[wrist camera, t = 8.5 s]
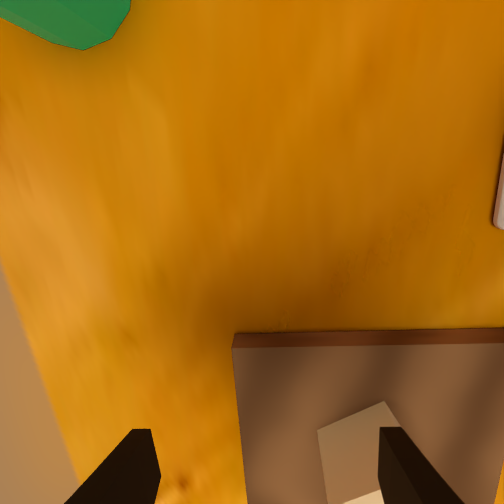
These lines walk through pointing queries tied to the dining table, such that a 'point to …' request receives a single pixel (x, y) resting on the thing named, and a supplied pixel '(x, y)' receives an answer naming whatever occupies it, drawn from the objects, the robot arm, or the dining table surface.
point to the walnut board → (369, 403)
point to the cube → (354, 455)
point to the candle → (67, 19)
